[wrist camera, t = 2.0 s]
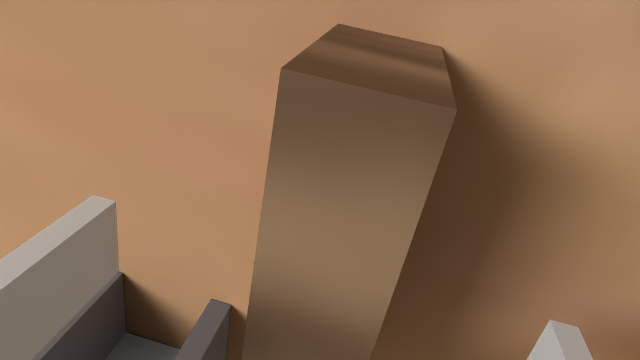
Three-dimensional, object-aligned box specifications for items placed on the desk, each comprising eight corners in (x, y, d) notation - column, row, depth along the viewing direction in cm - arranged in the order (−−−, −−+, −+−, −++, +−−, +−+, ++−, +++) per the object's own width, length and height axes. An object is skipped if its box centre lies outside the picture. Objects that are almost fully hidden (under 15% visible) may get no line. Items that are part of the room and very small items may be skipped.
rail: (336, 22, 17) (276, 67, 10) (443, 47, 16) (461, 111, 9) (281, 316, 24) (225, 459, 17) (353, 337, 24) (325, 492, 17)
